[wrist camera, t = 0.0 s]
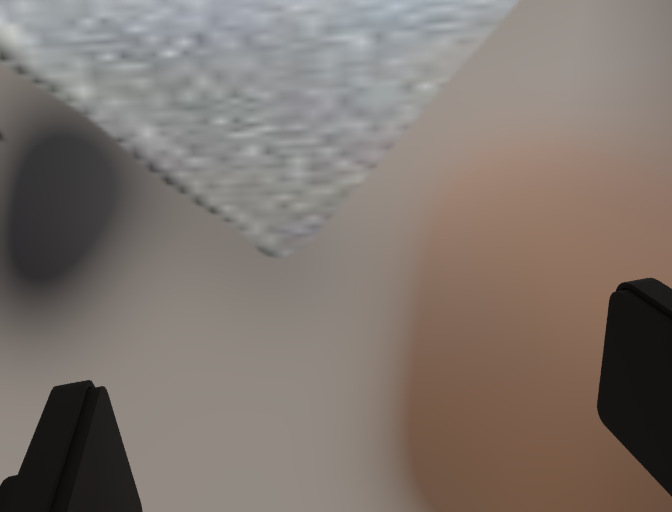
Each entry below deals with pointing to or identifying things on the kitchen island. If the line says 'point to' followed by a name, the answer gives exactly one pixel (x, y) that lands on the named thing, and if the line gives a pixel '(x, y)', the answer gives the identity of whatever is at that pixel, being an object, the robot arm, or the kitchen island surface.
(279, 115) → the kitchen island surface
